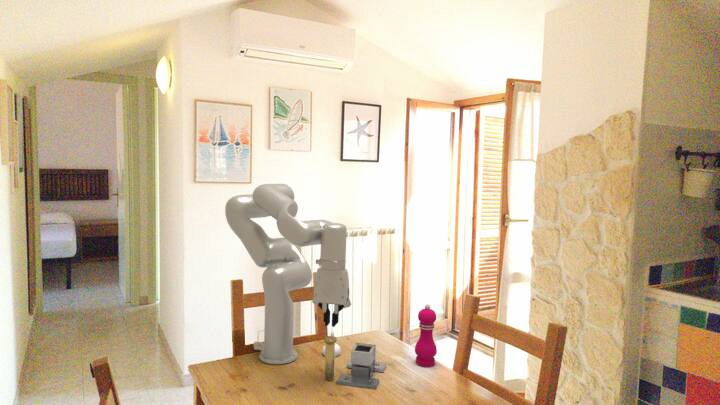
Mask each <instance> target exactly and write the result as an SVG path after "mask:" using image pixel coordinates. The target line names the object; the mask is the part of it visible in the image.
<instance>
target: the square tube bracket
mask: <svg viewBox="0 0 720 405" xmlns="http://www.w3.org/2000/svg"><path fill="white" fill-rule="evenodd" d="M376 348H377V346H376V344H370V343H363V342H362V343H361V342H356V343H355V345H354V346H353V347H352V349H351V350H350V359H349V360H348V362H347V363H346V368H348V369H352V364H356V365H364V366H371V365H372V363H373V361H374V369H373V372H379V373H384V371H385V369H386V368H387V363H386V362H381V361H376Z"/></svg>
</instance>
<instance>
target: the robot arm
mask: <svg viewBox="0 0 720 405" xmlns="http://www.w3.org/2000/svg"><path fill="white" fill-rule="evenodd" d="M224 207H225V209H224V212H225V214H224V215H225V219H226V222H227V223H228V227H230V229H231V230H232V232H233V233H234V234H235V235H236V236H237V237H238V239H239V240H240V241H241V243H242V245H243V246H244V248H245V250H246V252H248V254H249V256H250V258H251V259H252V260H253V262H254V264H255V265H256V266H257V267H258V268H264V270H263V273H262V276H261V283H262V288H263V293H264V295H263V296H264V332H263V333H264V334H263V335H264V338H263V342H262V341H261V342H260V341H254V343H253V350H254V351H260V353H259V355H258V356H259V360H260V361H261V362H263V363H265V364H269V365H284V364H290V363H292V362H294V361H296V359H297V358H298V352H297V350H296V349H294V319H295V318H294V316H295V315H294V310H295V309H294V308H295V306H294V302H293V299H292V298H291V296H290V292H292V291H294V290H295V291H296V290H300V289H303V288H306V287H308V286H309V285H310V284H311V281H312V280H313V272H312V269H311V267H310V265H309V263H308V261H307V260H306V259H305V256H303V254H302V252H301V251H300V250H299V249H298V247H308V246H317V245H320V258H318V259H316V260H315V265H318V268H317V270H316V274H315V278H314V279H315V280H314V288H313V298H312V300H311V302H312V303H313V304H314V305H316V306H318V308H320V310H322V313H323V323H324V327H327V326H329V324H330V323H331V327H333V328H335V327H336V325H338V324H339V314H340V312H341V311H342V310H343V309H346V308H347V309H348V308H350V307H351V305H352V302H351V299H350V279H349V278H350V277H349V272H348V269H347V268H346V262H347V261H346V257H347V256H346V255H347V235H348V234H347V231H348V230H347V226H346V225H345V224H343V223H339V222H331V221H329V220H325V219H312V220H302V221H300V220H298V219H297V218H296V216H297V213H298V210H299V208H298V202H296V200H295V193H294V190H293V189H292V188H291V186H289V185H288V184H285V183H264V184H263V183H262V184H260V185H258V186H256V187H255V189H254V190H253V192H252V193H251V194H248V193H247V194H239V195H235V196H232V197H231V198H229V199H228V200H227V201H226V204H225V206H224ZM266 217H271V218H272V219H275V220H276V228H277V229H278V232H279V234H280V235H281V236H282V237H275V238H272V237H270V236H269V235H268V234H267V233H266V231H265V229H264V228H263V227H262V226H261V225H259V224H258V223H257V222H255V221H254V220H253V219H257V218H258V219H259V218H266ZM265 268H266V269H265ZM330 305H334V308H333V313H332V314H331V310H330V308H329V306H330Z"/></svg>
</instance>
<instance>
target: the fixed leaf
mask: <svg viewBox="0 0 720 405" xmlns="http://www.w3.org/2000/svg"><path fill="white" fill-rule="evenodd" d="M373 369H374V361H373V363H372V365H371V366H364V365H356V364H352V368H351V371H350V372H351V373H350V374H344V373H340V374H339V376H338V377H337V380H336V385H342V386H348V387H356V388H364V389H371V390H377V388H378V386H379V384H380V378H375V377H373V374H374V371H373Z"/></svg>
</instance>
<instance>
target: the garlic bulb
mask: <svg viewBox="0 0 720 405" xmlns="http://www.w3.org/2000/svg"><path fill="white" fill-rule="evenodd" d="M330 336H334V337H335V332H334V331H330ZM321 352H322V355H323V356H324V357H325V345H323V347H322V351H321ZM341 352H342V350H341V346H340V345H339V344H337V343H336V342H335V353H334V358H337V357H339V356H340V355H341Z"/></svg>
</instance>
